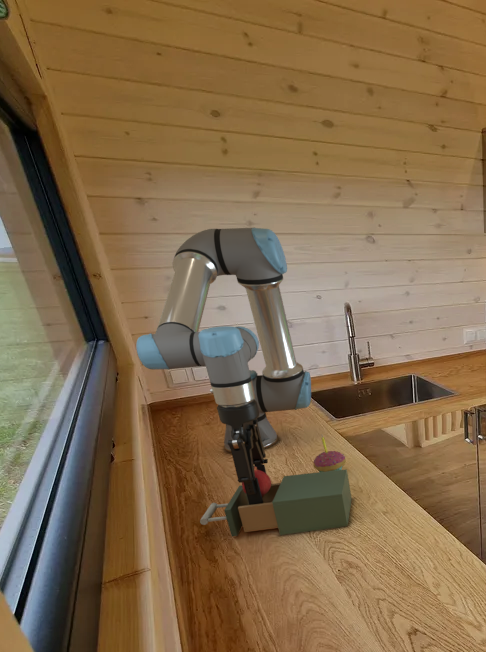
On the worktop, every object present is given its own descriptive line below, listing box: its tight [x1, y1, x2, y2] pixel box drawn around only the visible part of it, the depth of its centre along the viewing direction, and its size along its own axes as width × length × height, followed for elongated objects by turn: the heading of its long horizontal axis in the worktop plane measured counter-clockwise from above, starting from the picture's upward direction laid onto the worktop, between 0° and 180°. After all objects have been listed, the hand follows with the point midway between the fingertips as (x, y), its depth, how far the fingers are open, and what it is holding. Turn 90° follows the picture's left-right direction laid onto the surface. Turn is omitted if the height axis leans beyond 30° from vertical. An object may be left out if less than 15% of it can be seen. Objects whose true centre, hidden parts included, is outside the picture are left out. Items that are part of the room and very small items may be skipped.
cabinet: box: [272, 469, 353, 536], centre depth 115 cm, size 15×13×9 cm
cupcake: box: [313, 435, 347, 472], centre depth 133 cm, size 9×8×12 cm
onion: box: [241, 465, 272, 498], centre depth 110 cm, size 6×6×8 cm
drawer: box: [199, 482, 281, 538], centre depth 112 cm, size 20×11×7 cm, turn 103°
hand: (260, 497), depth 112 cm, fingers closed on onion, 6 cm apart
